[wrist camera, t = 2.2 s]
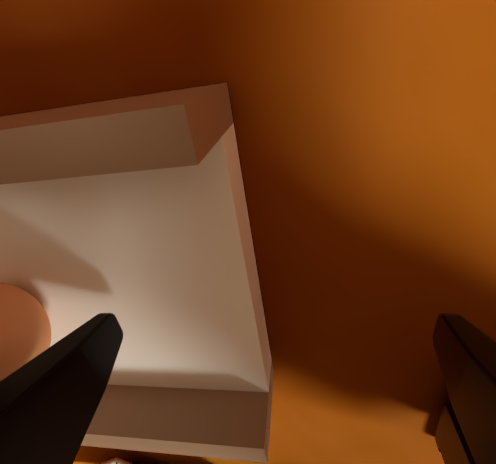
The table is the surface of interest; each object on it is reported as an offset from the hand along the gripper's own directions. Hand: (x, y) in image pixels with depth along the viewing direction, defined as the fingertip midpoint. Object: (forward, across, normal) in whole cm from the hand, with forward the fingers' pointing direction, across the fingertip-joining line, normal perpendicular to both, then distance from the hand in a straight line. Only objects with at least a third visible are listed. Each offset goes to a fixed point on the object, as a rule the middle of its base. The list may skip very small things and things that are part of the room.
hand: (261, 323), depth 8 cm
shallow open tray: (+3, +10, 0) cm, 10 cm away
